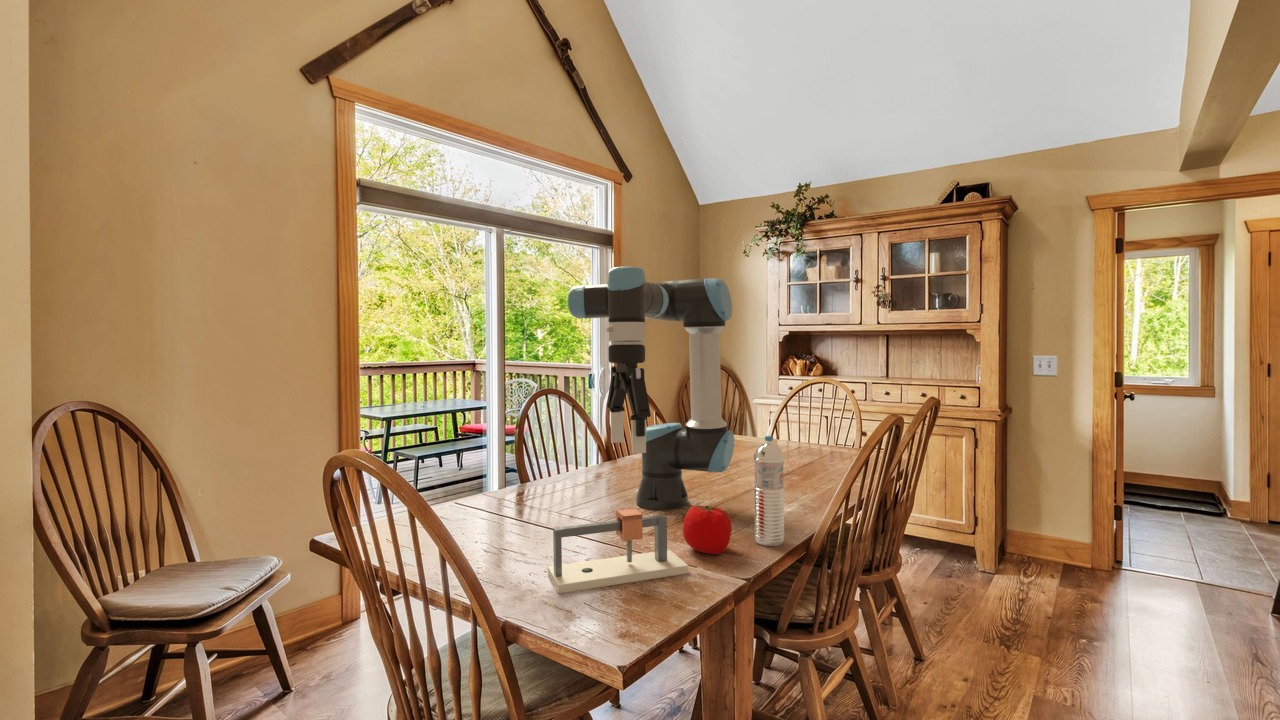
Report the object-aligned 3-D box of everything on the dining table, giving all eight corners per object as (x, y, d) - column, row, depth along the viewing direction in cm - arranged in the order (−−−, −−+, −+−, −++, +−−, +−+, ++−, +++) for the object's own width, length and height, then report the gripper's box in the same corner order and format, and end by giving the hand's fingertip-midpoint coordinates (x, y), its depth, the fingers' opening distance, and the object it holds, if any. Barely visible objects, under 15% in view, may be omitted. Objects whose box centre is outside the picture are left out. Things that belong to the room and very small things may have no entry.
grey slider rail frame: (663, 557, 128) (663, 514, 127) (667, 560, 126) (666, 517, 125) (553, 573, 119) (553, 527, 119) (555, 577, 118) (555, 530, 117)
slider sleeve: (634, 556, 127) (634, 507, 127) (642, 564, 122) (642, 514, 122) (616, 558, 125) (616, 509, 125) (624, 567, 121) (623, 516, 120)
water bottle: (765, 535, 146) (764, 433, 145) (789, 542, 141) (789, 436, 140) (748, 542, 141) (748, 436, 141) (773, 549, 136) (773, 440, 136)
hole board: (669, 556, 132) (669, 549, 132) (688, 573, 123) (688, 564, 123) (547, 574, 123) (547, 566, 123) (558, 593, 114) (558, 584, 114)
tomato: (705, 564, 128) (705, 516, 128) (671, 547, 139) (671, 503, 138) (745, 553, 134) (745, 508, 134) (709, 538, 145) (709, 496, 144)
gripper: (592, 343, 133) (593, 439, 133) (629, 343, 109) (630, 459, 110) (624, 343, 135) (625, 437, 136) (667, 343, 112) (667, 456, 112)
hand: (627, 447), depth 123 cm, fingers open, 13 cm apart
